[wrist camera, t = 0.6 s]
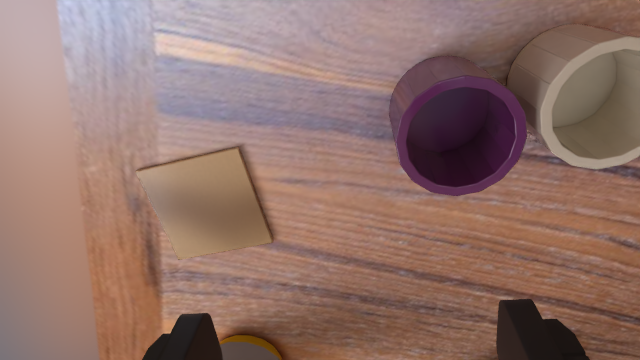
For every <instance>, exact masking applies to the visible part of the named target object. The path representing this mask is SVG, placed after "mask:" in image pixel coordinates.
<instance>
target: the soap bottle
mask: <svg viewBox="0 0 640 360" xmlns="http://www.w3.org/2000/svg"><path fill="white" fill-rule="evenodd" d="M219 344H220V347H221V350H222V356H223V360H282V359H281V355H280V354H279V353H278V351H277V350H276V349H275V347H274V346H272V345H271V344H269V343H268V342H266V341H265V340H263V339H260V338H257V337H254V336H250V335H235V336H232V337H229V338H226V339H223V340H222V341H221V342H220V343H219Z"/></svg>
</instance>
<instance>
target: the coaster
mask: <svg viewBox="0 0 640 360" xmlns="http://www.w3.org/2000/svg"><path fill="white" fill-rule="evenodd" d="M136 174H137V176H138V178H139V180H140V182H141V184H142V186H143V188H144V190H145V193H146V195H147V197H148V199H149V201H150V203H151V205H152V207H153V209H154V211H155V213H156V215H157V217H158V219H159V221H160V223H161V225H162V227H163V229H164V231H165V233H166V235H167V237H168V239H169V241H170V243H171V245H172V247H173V249H174V251H175V253H176V255H177V257H178V260H181V259H187V258H192V257H197V256H203V255H208V254H214V253H219V252H225V251H230V250H235V249H241V248H246V247H252V246H257V245H262V244H268V243H273V238H272V235H271V232H270V230H269V227H268V224H267V222H266V219H265V216H264V214H263V211H262V208H261V205H260V203H259V200H258V197H257V195H256V192H255V189H254V187H253V184H252V181H251V179H250V176H249V173H248V170H247V168H246V165H245V162H244V160H243V157H242V154H241V152H240V149H239V147H235V148H231V149H226V150H222V151H218V152H213V153H209V154H205V155H200V156H196V157H192V158H187V159H183V160H179V161H174V162H170V163H166V164H161V165H157V166H153V167H148V168H144V169H140V170H137V171H136Z"/></svg>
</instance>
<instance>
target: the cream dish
mask: <svg viewBox="0 0 640 360" xmlns="http://www.w3.org/2000/svg"><path fill="white" fill-rule="evenodd" d="M506 87H507V88H508V89H509V90H511V91H512V92H513V93H514V95H515V96H516V98H517V100H518V101H519V103H520V105H521V107H522V108H523V110H524V112H525V114H526V128H527V130H528V131H529V132H530V133H531V134H532V135H534V136H535V137H536V138H537V139H538V140H539V141H540V142H541V143H542V144H543V145H544V146H545V147H546V148H547V149H548V150H550V151H551V152H552V153H553V154H554V155H556V156H557V157H559V158H560V159H562V160H564V161H565V162H567V163H568V164H570V165H573V166H578V167H585V168H591V169H601V168H607V167H612V166H617V165H622V164H625V163H627V162H629V161H631V160H633V159H635V158H637V157H639V156H640V36H637V35H632V34H628V33H624V32H620V31H615V30H611V29H607V28H603V27H597V26H591V25H586V24H567V25H561V26H558V27H555V28H552V29H550V30H548V31H545V32H544V33H542V34H540V35H539V36H537V37H536V38H534V39H533V40H532V41H531V42H529V43H528V44H527V45H526V46H525V47H524V48H523V50H522V51H521V52H520V53H519V55H518V56H517V57H516V59H515V61H514V62H513V64H512V66H511V69H510V71H509V74H508V78H507V84H506Z"/></svg>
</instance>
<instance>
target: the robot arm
mask: <svg viewBox="0 0 640 360" xmlns="http://www.w3.org/2000/svg"><path fill="white" fill-rule="evenodd" d="M496 345H497V354H498V359H499V360H590V359H589V358H588V356H586V354H585V351H584V349H583V348H582V346H581V344H580V343H579V341H578V339H577V338H576V336H575V334H574V333H573V332H571V331H570V330H569V329H568V328H567V327H565V326H564V325H563V324H562V323H561V322H560V321H558V320H557V319H542V317H541V315H540V313H539V311H538V309H537V308H536V306H535V304H534V302H533V301H532V300H531V299H518V300H501V301H500V302H499V309H498V325H497V341H496ZM142 360H223V356H222V350H221V347H220V344H219V341H218V337H217V334H216V331H215V328H214V325H213V322H212V319H211V316H210V315H209V314H208V313H198V314H182V315H181V316H180V317H179V318H178V320H177V322H176V324H175V326H174V327H173V329H172V331H171V333H170V334H162V335H161V336H160V337H159V338H158V339H157V340H156V341H155V342H154V343H153V344H152V345H151V346H150V347H149V348H148V350H147V352H146V354H145V355H144V357H143V359H142Z"/></svg>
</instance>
